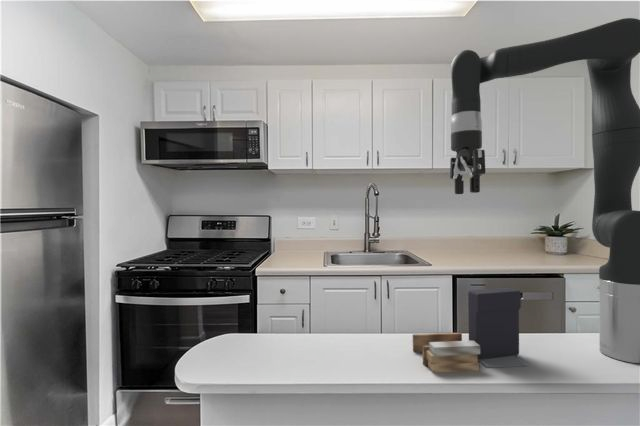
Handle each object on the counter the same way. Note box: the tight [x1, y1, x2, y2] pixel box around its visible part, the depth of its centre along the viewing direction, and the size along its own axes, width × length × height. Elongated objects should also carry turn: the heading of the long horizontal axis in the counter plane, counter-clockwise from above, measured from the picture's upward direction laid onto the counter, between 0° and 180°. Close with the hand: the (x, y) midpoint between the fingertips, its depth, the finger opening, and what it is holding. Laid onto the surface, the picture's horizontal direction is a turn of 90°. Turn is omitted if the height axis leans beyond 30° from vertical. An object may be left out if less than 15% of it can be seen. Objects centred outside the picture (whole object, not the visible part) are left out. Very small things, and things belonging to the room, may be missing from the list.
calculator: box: [467, 287, 522, 360], centre depth 78 cm, size 11×4×15 cm, turn 101°
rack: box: [412, 332, 463, 366], centre depth 79 cm, size 12×8×4 cm, turn 93°
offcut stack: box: [426, 340, 480, 373], centre depth 73 cm, size 11×3×5 cm, turn 93°
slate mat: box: [478, 355, 527, 368], centre depth 79 cm, size 9×12×1 cm
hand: (466, 193), depth 90 cm, fingers open, 8 cm apart
